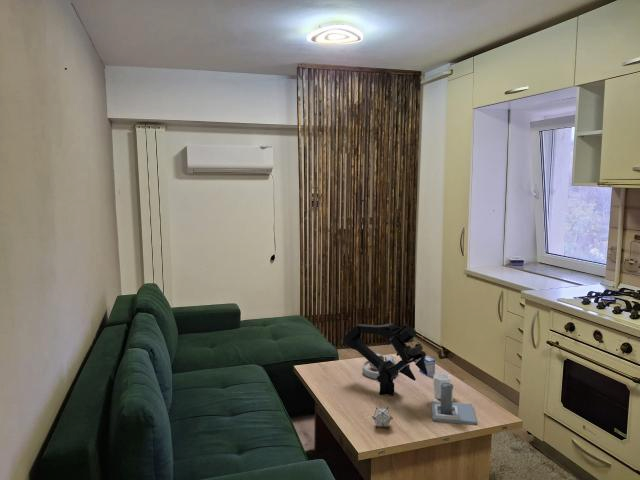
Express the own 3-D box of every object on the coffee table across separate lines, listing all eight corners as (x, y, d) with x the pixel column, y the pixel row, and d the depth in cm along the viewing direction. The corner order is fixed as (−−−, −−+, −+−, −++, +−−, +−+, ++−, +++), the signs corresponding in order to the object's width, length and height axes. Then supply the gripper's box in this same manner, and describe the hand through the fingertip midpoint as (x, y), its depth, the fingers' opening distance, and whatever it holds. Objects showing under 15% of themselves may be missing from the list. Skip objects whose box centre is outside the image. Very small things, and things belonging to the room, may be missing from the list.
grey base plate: (432, 420, 201) (432, 415, 201) (431, 403, 217) (431, 397, 217) (476, 424, 198) (476, 418, 198) (472, 406, 213) (472, 400, 213)
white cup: (450, 400, 219) (451, 380, 218) (433, 399, 221) (433, 379, 219) (449, 393, 227) (449, 373, 226) (432, 392, 228) (433, 372, 227)
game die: (384, 437, 196) (386, 426, 189) (367, 425, 200) (368, 414, 193) (395, 420, 201) (397, 409, 194) (378, 409, 205) (379, 398, 198)
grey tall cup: (437, 413, 205) (438, 385, 203) (444, 409, 209) (444, 381, 207) (448, 418, 201) (449, 389, 200) (455, 413, 205) (455, 385, 203)
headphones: (369, 361, 266) (358, 380, 248) (369, 349, 264) (357, 367, 246) (401, 366, 259) (392, 386, 241) (401, 353, 257) (391, 372, 239)
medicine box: (419, 371, 253) (419, 356, 252) (425, 370, 255) (426, 354, 254) (428, 377, 246) (428, 361, 245) (435, 375, 248) (435, 359, 246)
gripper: (399, 344, 209) (420, 375, 202) (423, 334, 221) (443, 362, 215) (385, 356, 215) (404, 386, 209) (409, 346, 228) (428, 374, 222)
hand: (421, 377), depth 213 cm, fingers open, 9 cm apart
